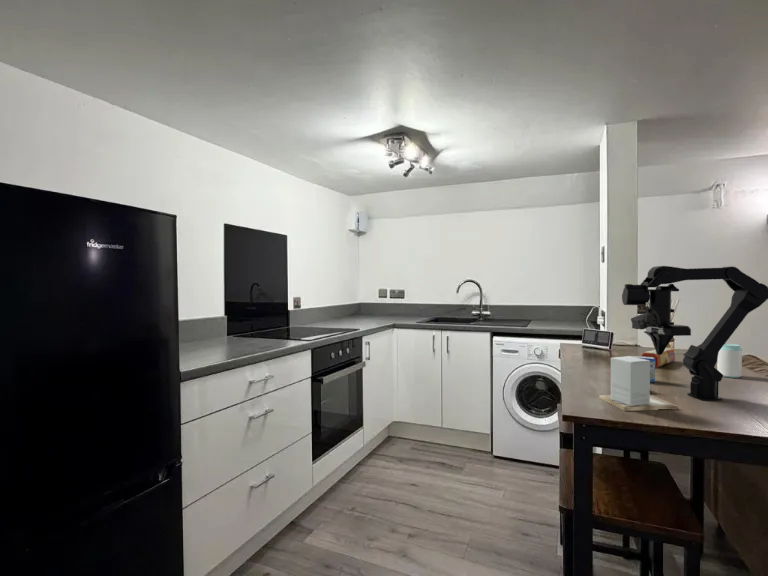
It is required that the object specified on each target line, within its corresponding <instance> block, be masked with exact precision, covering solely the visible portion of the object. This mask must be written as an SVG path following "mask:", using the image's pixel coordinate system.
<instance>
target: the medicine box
mask: <svg viewBox="0 0 768 576" xmlns="http://www.w3.org/2000/svg"><path fill="white" fill-rule="evenodd" d="M630 356H631V357H635V358H640V359H645V360H650V383H651V382H654V383H655V382H656V368H655V359H654V358H653V357H641V355H640V356H636V355H630Z"/></svg>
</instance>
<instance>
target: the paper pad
mask: <svg viewBox="0 0 768 576" xmlns="http://www.w3.org/2000/svg"><path fill="white" fill-rule="evenodd" d="M599 398H600V399H599ZM598 399H599V400H601V399H602V401H603V400H604V401H603V402H605V401H606V402H605V403H607V402H608V403H607V404H609V403H610V405H611V404H612V406H613V407H616V408H617V409H620V410H622V411H623V412H630V411H633V412H634V411H659V410H658V409H672V410H678V408H679V407H678V406H679V405H676V404H674V403H672V402H670V401H667V400H664V399H662V398H659V397H657V396H654V395H651V394H650V403H649V404H643V405H634V406H630V405H627V404H624V403H621V402H618V401H615V400H612V399H611V394H600V395H599V397H598Z"/></svg>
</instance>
